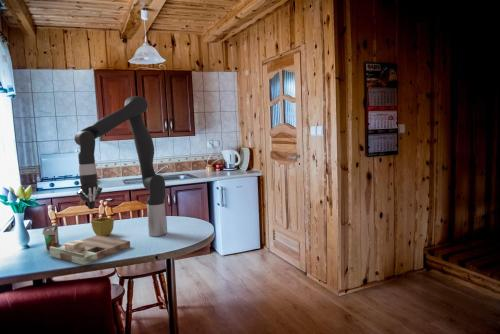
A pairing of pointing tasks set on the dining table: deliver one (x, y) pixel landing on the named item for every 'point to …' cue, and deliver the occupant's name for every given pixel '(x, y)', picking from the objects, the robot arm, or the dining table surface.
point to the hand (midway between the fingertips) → (91, 208)
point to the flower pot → (102, 226)
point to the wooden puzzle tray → (91, 249)
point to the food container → (51, 236)
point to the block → (75, 246)
